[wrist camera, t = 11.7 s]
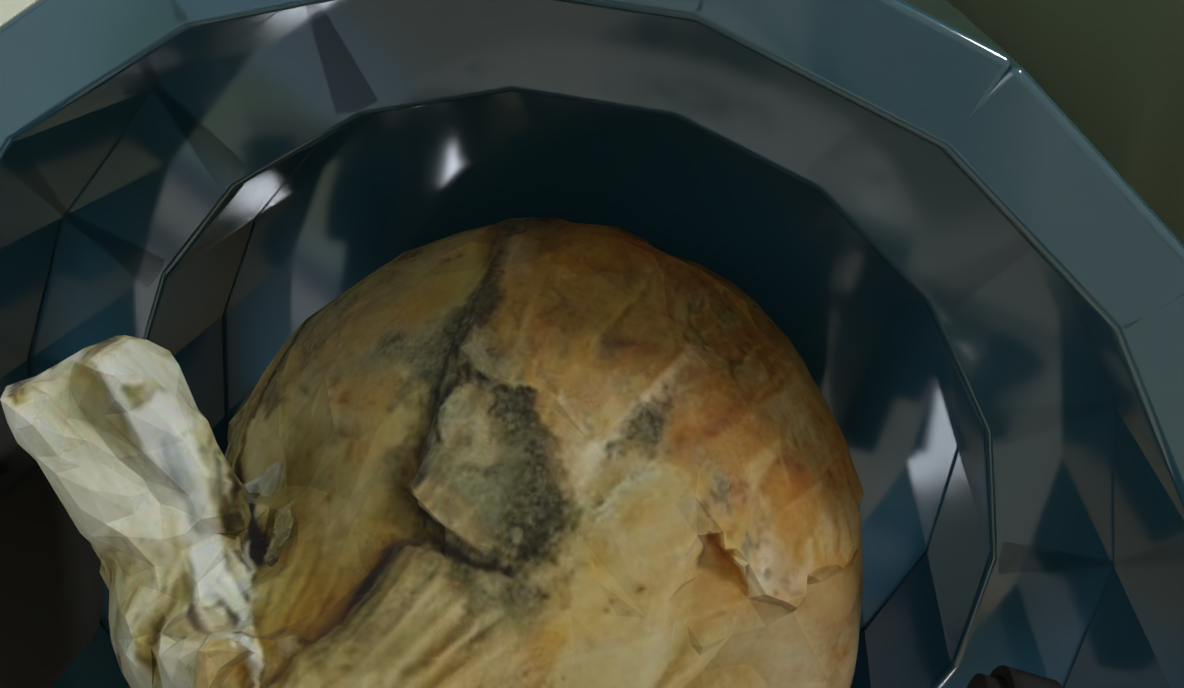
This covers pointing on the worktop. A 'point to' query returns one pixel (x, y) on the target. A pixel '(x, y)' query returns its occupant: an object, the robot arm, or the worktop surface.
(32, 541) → the robot arm
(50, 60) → the bowl
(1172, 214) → the worktop surface
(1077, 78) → the worktop surface
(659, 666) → the onion
